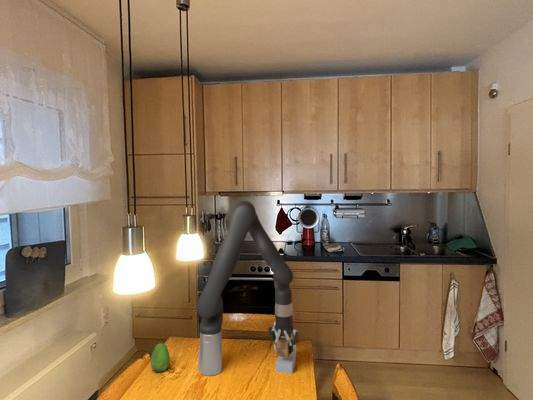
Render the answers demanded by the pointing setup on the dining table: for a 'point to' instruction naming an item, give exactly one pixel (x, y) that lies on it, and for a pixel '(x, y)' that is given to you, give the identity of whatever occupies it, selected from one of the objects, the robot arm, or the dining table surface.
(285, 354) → the walnut block
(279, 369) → the base block
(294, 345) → the beige block
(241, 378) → the dining table surface
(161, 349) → the avocado
